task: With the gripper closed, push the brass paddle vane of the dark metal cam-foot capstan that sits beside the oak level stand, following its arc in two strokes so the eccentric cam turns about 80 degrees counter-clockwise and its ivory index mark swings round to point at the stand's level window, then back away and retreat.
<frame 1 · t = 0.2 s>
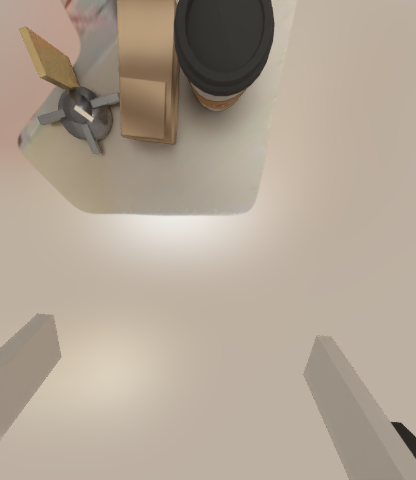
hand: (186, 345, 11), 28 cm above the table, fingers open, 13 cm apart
coffee cup: (217, 86, 31), on the table
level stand: (157, 87, 31), on the table
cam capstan: (71, 103, 28), point 4 cm above the table, hinge at 0.0°
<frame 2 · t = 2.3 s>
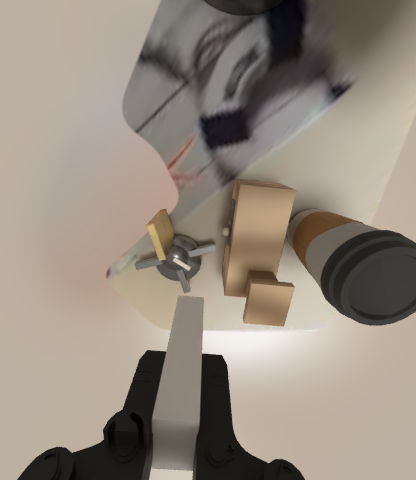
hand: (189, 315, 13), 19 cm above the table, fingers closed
coffee cup: (307, 229, 31), on the table
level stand: (248, 231, 31), on the table
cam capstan: (173, 260, 29), point 4 cm above the table, hinge at 0.0°
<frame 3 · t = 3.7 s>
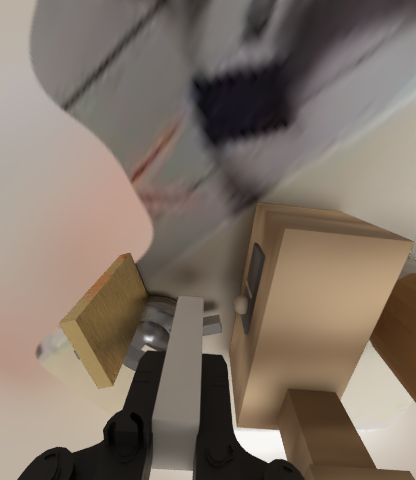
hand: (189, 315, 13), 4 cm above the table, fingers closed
coffee cup: (379, 288, 18), on the table
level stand: (277, 291, 18), on the table
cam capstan: (141, 354, 15), point 4 cm above the table, hinge at 0.0°
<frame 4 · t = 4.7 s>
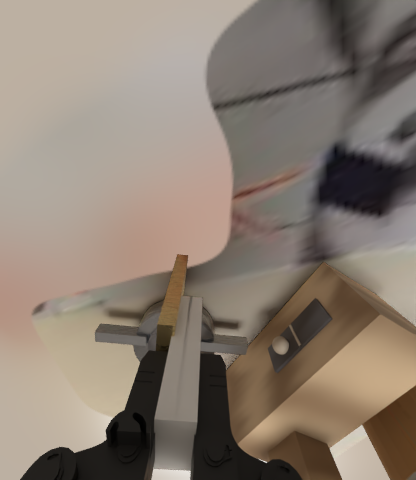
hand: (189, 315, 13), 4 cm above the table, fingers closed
coffee cup: (368, 362, 21), on the table
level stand: (295, 336, 20), on the table
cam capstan: (171, 356, 15), point 4 cm above the table, hinge at 4.2°, touching gripper
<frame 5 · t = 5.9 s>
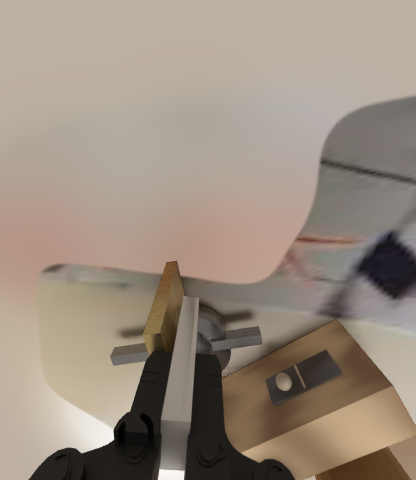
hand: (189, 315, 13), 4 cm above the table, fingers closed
coffee cup: (326, 412, 24), on the table
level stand: (282, 373, 21), on the table
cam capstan: (185, 363, 15), point 4 cm above the table, hinge at 44.1°, touching gripper
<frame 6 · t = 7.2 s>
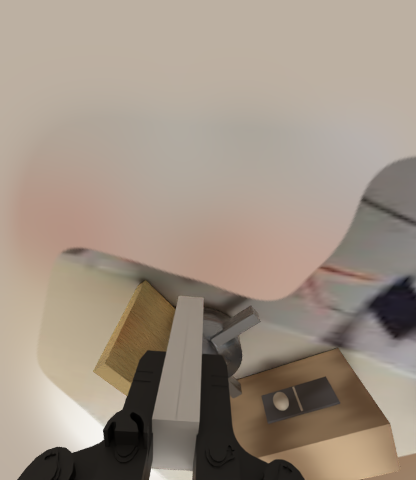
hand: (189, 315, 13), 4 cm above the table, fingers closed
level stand: (274, 391, 22), on the table
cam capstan: (191, 370, 15), point 4 cm above the table, hinge at 84.4°
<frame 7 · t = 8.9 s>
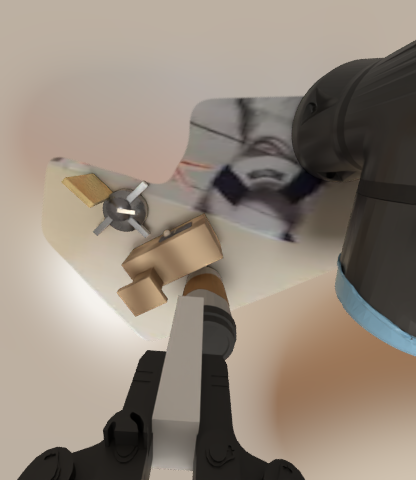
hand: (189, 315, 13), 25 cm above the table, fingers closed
coffee cup: (204, 279, 41), on the table
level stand: (176, 246, 38), on the table
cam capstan: (114, 209, 32), point 4 cm above the table, hinge at 84.4°
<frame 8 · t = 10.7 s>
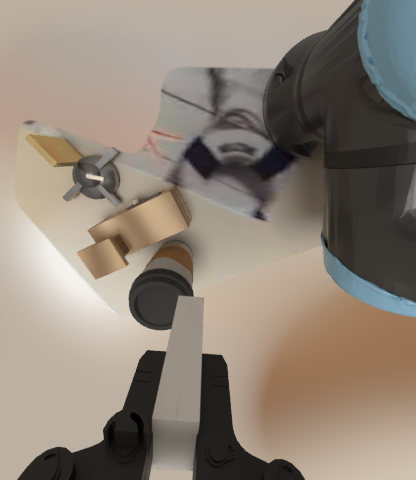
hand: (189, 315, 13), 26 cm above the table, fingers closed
coffee cup: (175, 255, 41), on the table
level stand: (148, 218, 38), on the table
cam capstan: (82, 174, 32), point 4 cm above the table, hinge at 84.4°
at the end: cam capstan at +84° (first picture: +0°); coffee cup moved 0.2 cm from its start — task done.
